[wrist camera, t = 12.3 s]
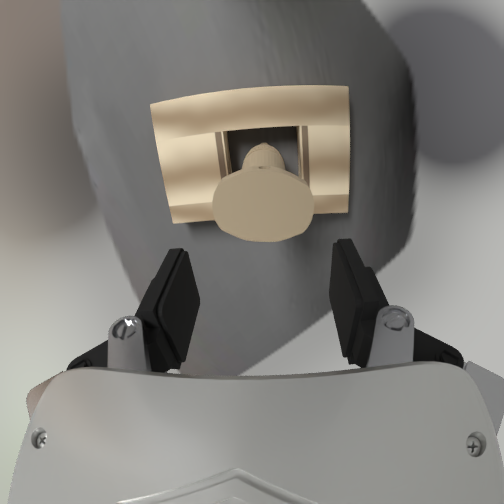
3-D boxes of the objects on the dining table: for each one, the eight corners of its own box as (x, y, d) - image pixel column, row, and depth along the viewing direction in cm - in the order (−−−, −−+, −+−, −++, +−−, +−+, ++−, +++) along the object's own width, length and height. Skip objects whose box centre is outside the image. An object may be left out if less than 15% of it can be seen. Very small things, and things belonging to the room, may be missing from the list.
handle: (291, 177, 31) (309, 243, 19) (235, 175, 32) (214, 240, 19) (293, 136, 29) (317, 174, 16) (235, 134, 29) (210, 170, 16)
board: (159, 102, 27) (149, 104, 24) (340, 86, 25) (348, 86, 23) (180, 212, 34) (173, 223, 32) (341, 202, 33) (347, 212, 30)
